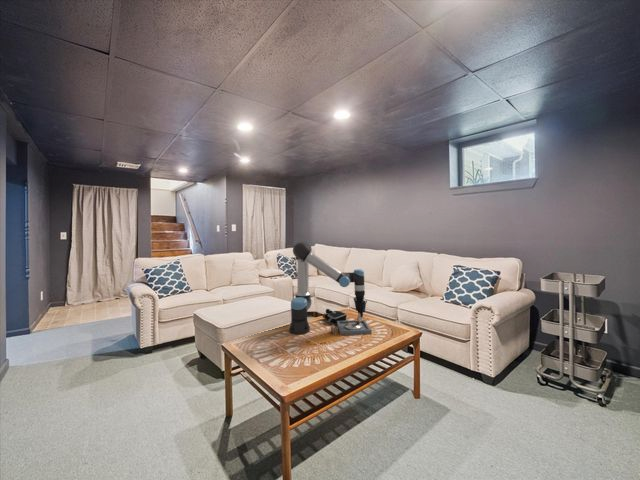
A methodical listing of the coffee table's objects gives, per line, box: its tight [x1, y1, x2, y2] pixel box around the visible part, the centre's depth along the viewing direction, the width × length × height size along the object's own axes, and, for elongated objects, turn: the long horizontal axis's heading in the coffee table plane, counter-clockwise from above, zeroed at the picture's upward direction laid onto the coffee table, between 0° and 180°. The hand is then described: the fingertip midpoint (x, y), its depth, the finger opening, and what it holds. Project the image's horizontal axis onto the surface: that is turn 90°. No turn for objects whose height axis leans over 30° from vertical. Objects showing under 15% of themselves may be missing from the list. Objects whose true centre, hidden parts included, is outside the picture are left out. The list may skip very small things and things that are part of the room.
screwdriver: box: [331, 324, 338, 335], centre depth 214 cm, size 3×16×3 cm, turn 3°
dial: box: [345, 315, 362, 330], centre depth 217 cm, size 14×13×6 cm
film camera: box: [321, 308, 348, 326], centre depth 235 cm, size 8×16×15 cm
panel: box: [336, 319, 372, 336], centre depth 217 cm, size 22×22×3 cm
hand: (360, 320), depth 221 cm, fingers closed
